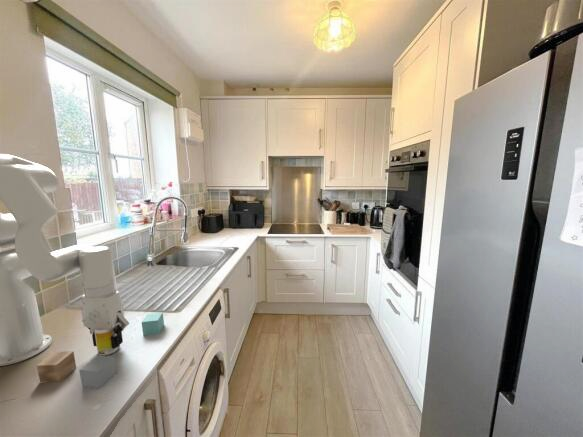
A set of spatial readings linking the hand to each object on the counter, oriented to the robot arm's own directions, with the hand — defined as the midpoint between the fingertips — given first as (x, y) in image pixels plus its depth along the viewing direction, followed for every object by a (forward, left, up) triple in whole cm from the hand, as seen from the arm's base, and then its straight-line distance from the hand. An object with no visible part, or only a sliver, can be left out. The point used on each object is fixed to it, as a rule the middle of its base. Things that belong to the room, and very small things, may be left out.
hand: (108, 343), depth 73 cm
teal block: (+6, +11, -2) cm, 13 cm away
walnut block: (-6, -10, -2) cm, 12 cm away
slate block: (+7, -10, -2) cm, 13 cm away
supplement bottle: (0, 0, -2) cm, 2 cm away
